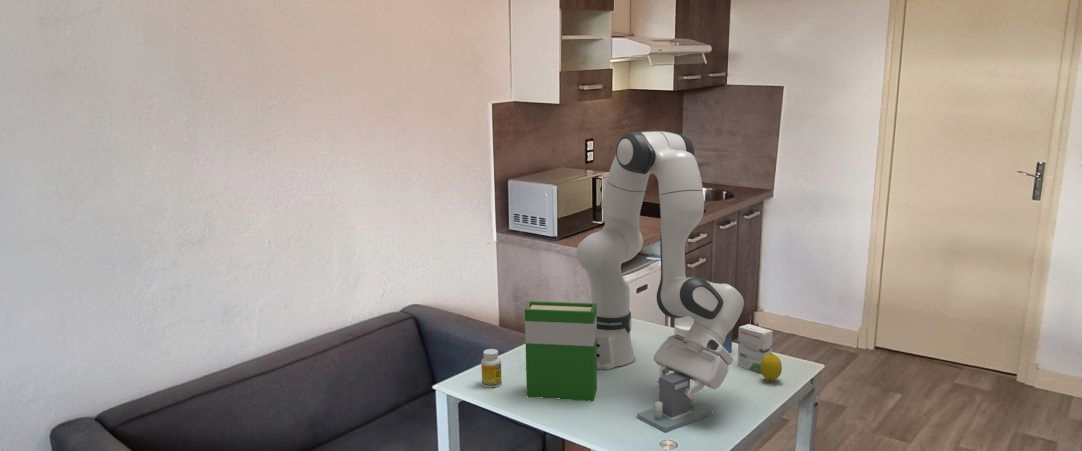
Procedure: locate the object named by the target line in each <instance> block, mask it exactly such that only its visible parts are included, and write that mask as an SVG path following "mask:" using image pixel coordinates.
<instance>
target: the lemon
mask: <svg viewBox="0 0 1082 451" xmlns="http://www.w3.org/2000/svg"><path fill="white" fill-rule="evenodd" d="M782 370H783V366H782V361H781V359H780V357H778V356H777V355H776V354H774V353H773V352H772V353H771V354H768V355H766V356H765V357H764V358H763V359H762V362H761V373H760V374H761V375H762V376H763V378H765V379H766V380H768V382H773V381H774V380H776V379H779V377H780V376H781V374H782Z"/></svg>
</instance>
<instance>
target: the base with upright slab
mask: <svg viewBox="0 0 1082 451" xmlns="http://www.w3.org/2000/svg"><path fill="white" fill-rule="evenodd" d="M693 323H694V320H693V318H691V317H690V316H685V317H681V318H674V330H673V331H674V332H673V333H674V334H673V335H675V334H677V335H680V336H682V337H685V336H686V334H687V333H688V331H689V330H690V328H691V326H692V325H693Z"/></svg>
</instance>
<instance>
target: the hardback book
mask: <svg viewBox="0 0 1082 451" xmlns="http://www.w3.org/2000/svg"><path fill="white" fill-rule="evenodd" d="M524 330H525V331H524V334H525V335H524V336H525V337H524V338H525V339H524V340H525V370H526V371H525V374H526V375H525V379H526V380H525V382H526V397H527V396H528V397H527V398H532V397H543V398H542V399H549V398H555V399H554V400H557V399H556V398H560V399H559V400H566V399H571V400H572V401H583V400H585V401H587V402H594V401H595V398H596V394H597V391H598V368H597V304H593V303H591V302H585V303H584V302H564V301H563V302H561V301H559V302H558V301H535V300H534V301H533V300H530V301H529V308H524ZM588 400H590V401H588ZM585 401H584V402H585Z"/></svg>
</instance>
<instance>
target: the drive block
mask: <svg viewBox="0 0 1082 451" xmlns="http://www.w3.org/2000/svg"><path fill="white" fill-rule="evenodd" d="M658 377H659V376H658ZM658 385H659V388H658V401H661V402H662V403H663V409H662V413H663V414H665V415H667V416H669V417H671V418H673V417H676V416H678V415H681V414H683V413H686V412H689V407H690V398H688V397H686V396H685V395H684V392H685V391H686V389H687V388H689V389H690V388H691V379H690V377H689V376H687V375H684V374H682V373H680V372H670V373H668V374H666V375H665V376H662V377H659V384H658Z"/></svg>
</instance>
